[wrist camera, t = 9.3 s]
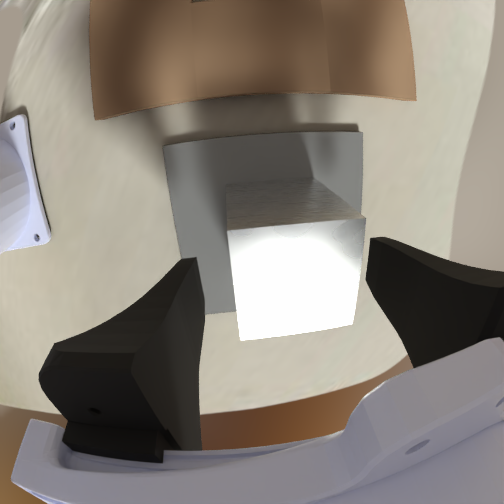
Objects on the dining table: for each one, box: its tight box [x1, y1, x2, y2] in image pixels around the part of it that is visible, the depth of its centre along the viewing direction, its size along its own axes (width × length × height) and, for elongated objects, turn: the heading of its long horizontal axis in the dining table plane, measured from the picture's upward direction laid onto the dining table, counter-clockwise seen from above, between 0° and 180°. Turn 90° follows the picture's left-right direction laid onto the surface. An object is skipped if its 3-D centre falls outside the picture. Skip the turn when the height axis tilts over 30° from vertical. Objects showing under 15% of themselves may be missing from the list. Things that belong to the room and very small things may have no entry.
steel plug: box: [226, 178, 366, 340], centre depth 12 cm, size 4×4×6 cm
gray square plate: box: [163, 131, 363, 314], centre depth 15 cm, size 10×10×1 cm
